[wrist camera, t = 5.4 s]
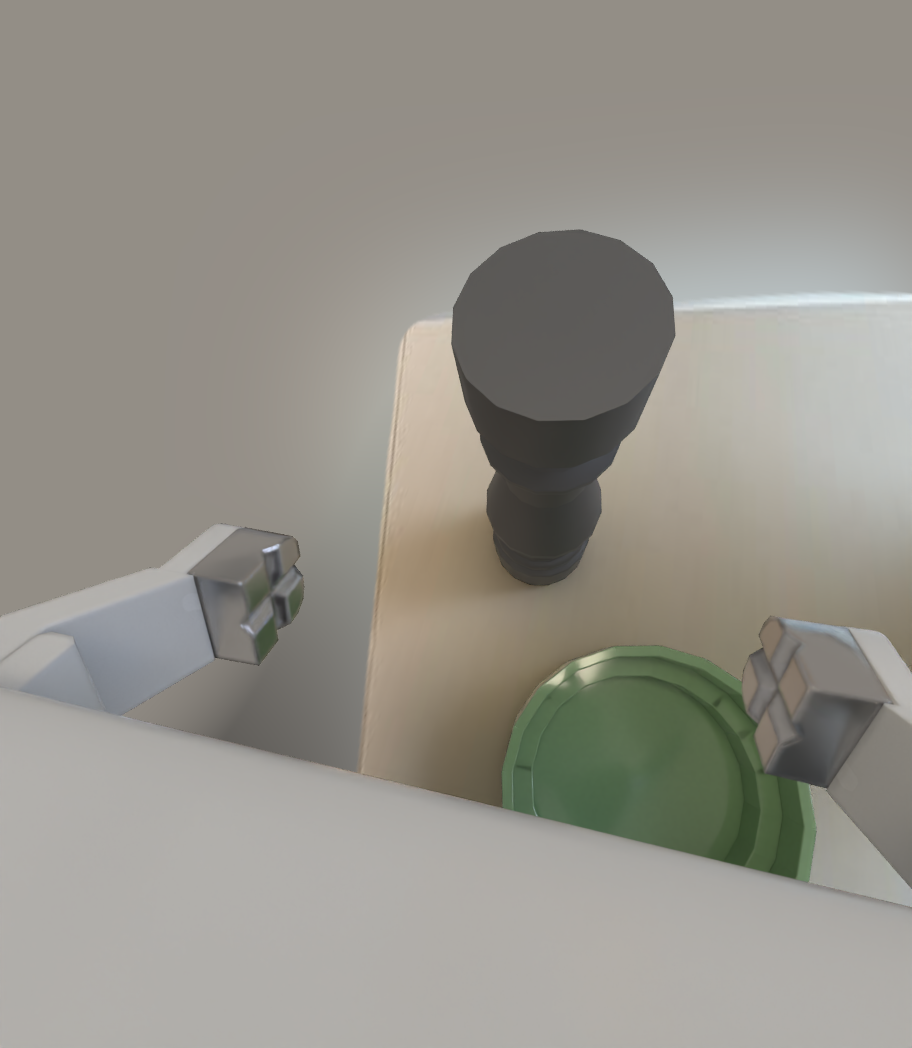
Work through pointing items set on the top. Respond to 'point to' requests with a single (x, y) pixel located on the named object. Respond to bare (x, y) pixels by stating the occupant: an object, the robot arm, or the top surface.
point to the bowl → (656, 761)
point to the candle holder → (557, 383)
